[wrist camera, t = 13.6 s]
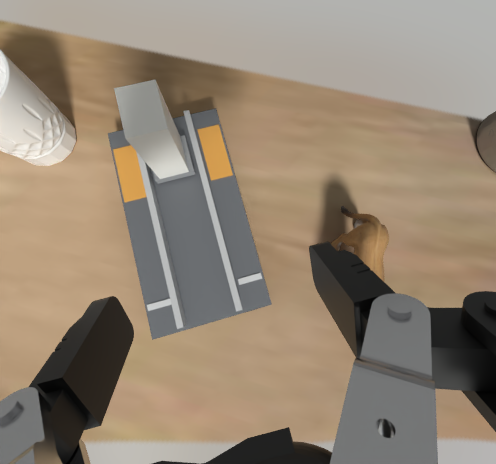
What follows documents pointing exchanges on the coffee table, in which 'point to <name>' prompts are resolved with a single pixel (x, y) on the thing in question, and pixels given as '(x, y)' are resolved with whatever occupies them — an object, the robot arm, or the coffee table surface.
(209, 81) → the coffee table surface
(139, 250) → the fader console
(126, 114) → the fader knob
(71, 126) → the white cup
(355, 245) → the lion figurine
